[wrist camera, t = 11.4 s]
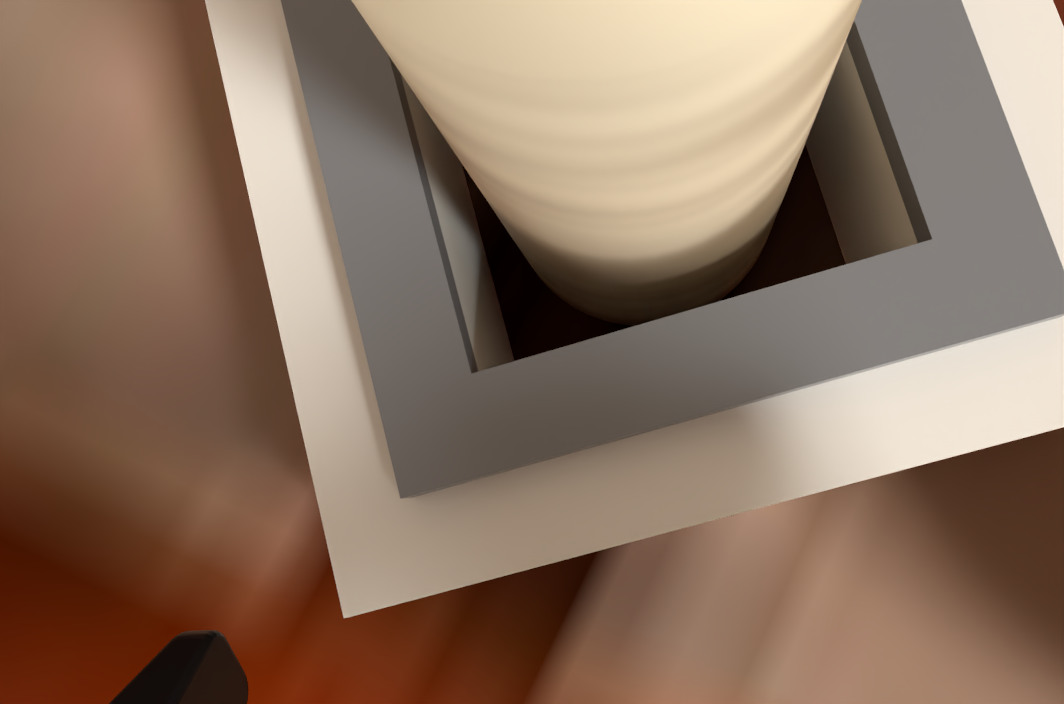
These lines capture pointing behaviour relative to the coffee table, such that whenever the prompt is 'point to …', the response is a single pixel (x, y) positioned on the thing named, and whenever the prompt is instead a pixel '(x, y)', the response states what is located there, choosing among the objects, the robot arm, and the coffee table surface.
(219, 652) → the robot arm
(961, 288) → the socket block
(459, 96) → the beech pin
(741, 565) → the coffee table surface
